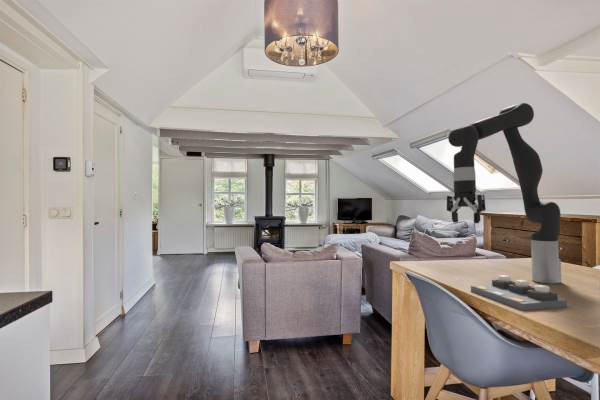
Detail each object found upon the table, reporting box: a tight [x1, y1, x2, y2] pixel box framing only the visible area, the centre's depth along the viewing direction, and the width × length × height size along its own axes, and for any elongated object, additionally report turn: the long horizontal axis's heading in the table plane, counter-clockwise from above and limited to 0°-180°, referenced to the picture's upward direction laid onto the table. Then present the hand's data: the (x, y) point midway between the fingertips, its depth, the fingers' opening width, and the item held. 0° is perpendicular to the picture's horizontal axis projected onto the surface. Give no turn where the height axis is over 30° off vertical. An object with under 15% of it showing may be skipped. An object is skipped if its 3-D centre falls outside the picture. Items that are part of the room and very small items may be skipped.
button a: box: [497, 274, 512, 283], centre depth 127 cm, size 4×4×2 cm
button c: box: [533, 284, 551, 294], centre depth 111 cm, size 4×4×2 cm
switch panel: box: [470, 279, 568, 311], centre depth 118 cm, size 16×24×4 cm, turn 10°
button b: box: [514, 279, 530, 288], centre depth 119 cm, size 4×4×2 cm
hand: (465, 222), depth 129 cm, fingers open, 8 cm apart
